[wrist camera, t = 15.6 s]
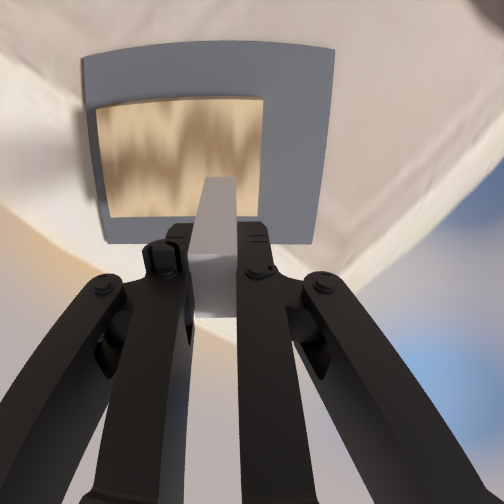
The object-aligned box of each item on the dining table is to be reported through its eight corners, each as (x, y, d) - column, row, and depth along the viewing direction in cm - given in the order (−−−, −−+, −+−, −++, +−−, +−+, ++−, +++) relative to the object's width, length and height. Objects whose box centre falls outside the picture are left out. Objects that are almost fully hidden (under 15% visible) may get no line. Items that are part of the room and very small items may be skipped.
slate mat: (86, 56, 18) (83, 56, 18) (333, 50, 20) (335, 49, 19) (109, 241, 28) (107, 243, 28) (310, 241, 30) (311, 244, 29)
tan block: (260, 96, 21) (110, 103, 21) (263, 100, 19) (95, 109, 18) (255, 200, 26) (121, 202, 26) (257, 216, 24) (110, 217, 23)
